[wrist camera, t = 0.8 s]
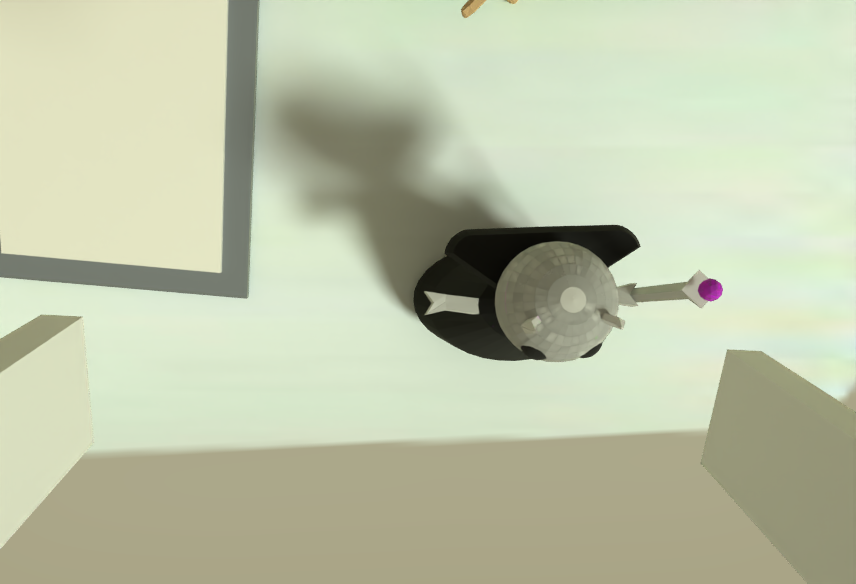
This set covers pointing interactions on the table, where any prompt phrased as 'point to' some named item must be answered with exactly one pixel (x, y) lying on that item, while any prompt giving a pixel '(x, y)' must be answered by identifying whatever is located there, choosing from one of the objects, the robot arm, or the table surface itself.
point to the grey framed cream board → (128, 143)
